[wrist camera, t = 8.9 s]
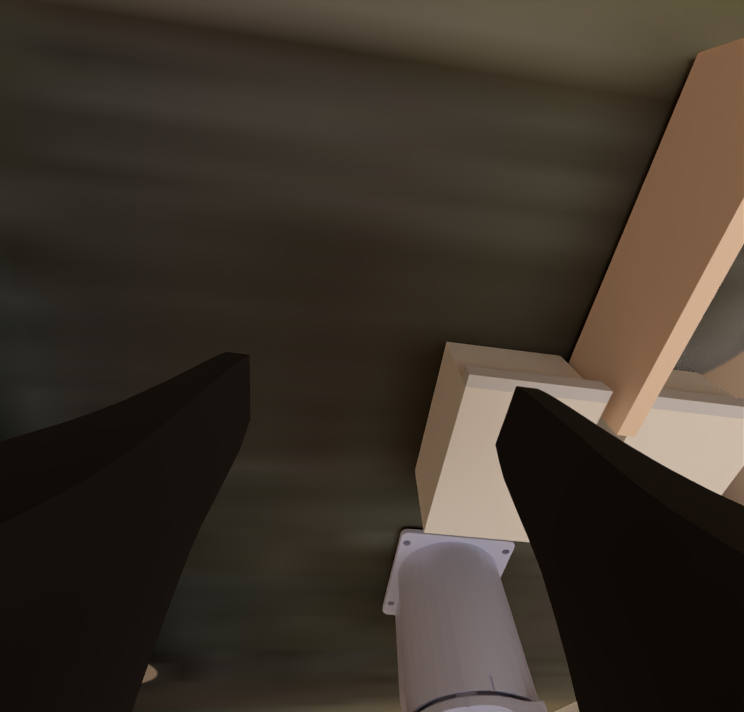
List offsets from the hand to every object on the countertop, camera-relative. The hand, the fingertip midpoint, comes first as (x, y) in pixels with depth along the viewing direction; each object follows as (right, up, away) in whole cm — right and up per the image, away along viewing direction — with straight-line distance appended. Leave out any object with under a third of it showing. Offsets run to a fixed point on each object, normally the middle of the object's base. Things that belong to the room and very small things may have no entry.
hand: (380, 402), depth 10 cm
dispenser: (+10, -3, +12) cm, 16 cm away
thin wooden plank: (+11, +6, +7) cm, 15 cm away
